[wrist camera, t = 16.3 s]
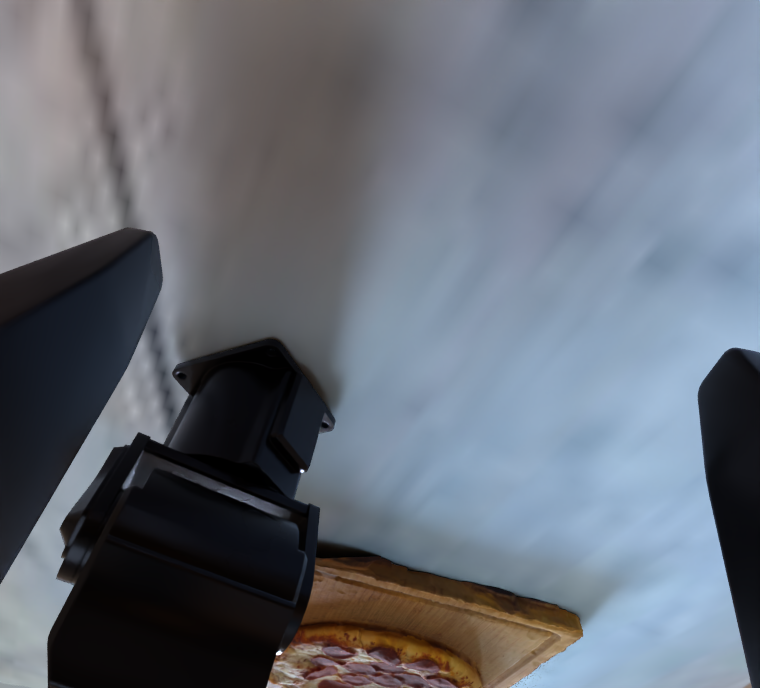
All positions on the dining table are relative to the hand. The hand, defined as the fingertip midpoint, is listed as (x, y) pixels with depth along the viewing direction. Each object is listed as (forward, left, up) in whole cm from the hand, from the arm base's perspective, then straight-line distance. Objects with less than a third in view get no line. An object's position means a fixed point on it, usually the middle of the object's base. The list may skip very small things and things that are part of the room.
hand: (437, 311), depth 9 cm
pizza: (-24, -43, -13) cm, 51 cm away
